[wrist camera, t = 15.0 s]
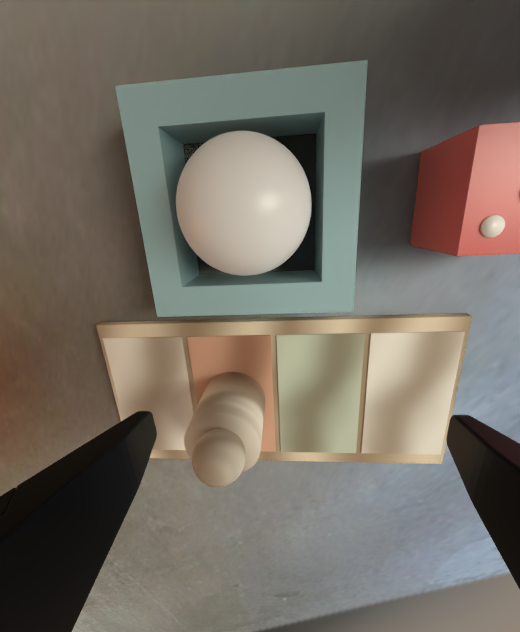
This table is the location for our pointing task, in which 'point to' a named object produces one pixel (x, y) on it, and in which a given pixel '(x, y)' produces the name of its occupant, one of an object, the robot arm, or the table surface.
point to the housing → (272, 120)
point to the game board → (300, 381)
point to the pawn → (226, 429)
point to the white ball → (243, 203)
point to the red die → (470, 193)
